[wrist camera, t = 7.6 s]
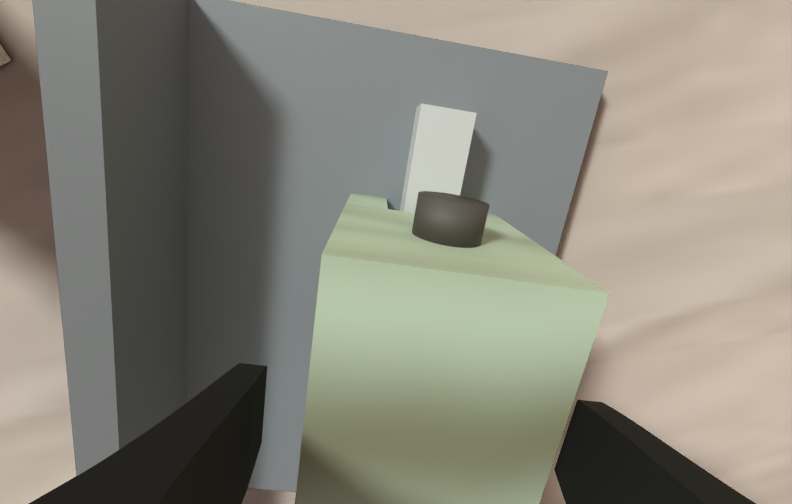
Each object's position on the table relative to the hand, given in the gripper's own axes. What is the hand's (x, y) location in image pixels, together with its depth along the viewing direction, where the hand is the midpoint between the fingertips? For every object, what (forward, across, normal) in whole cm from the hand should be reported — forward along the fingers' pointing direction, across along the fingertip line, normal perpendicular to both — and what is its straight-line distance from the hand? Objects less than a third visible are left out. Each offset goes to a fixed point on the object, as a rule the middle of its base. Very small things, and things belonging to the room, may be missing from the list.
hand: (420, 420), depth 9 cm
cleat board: (+7, +2, 0) cm, 7 cm away
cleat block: (+6, 0, 0) cm, 6 cm away
